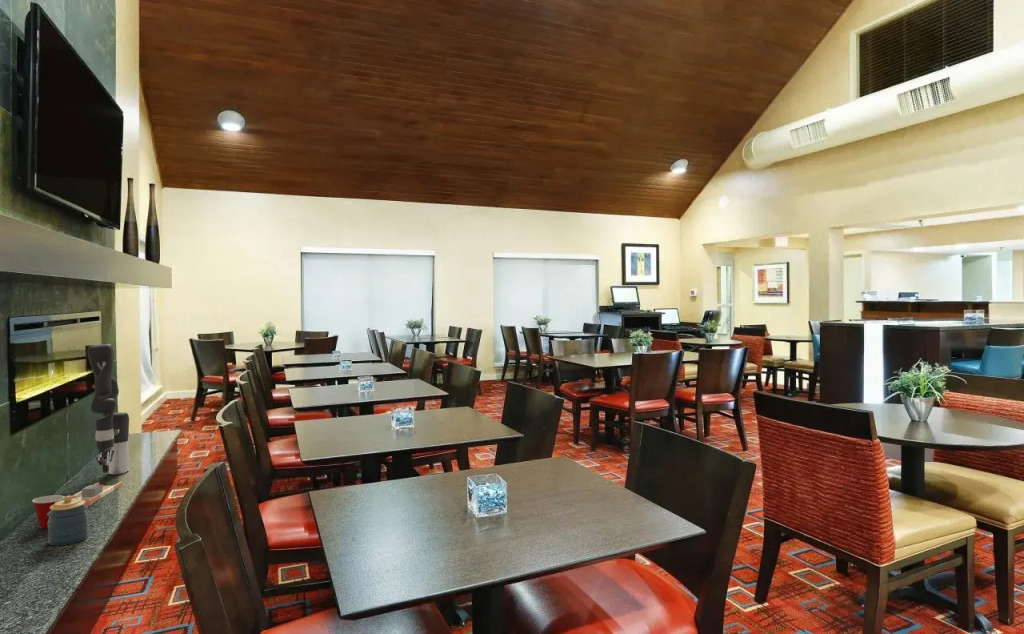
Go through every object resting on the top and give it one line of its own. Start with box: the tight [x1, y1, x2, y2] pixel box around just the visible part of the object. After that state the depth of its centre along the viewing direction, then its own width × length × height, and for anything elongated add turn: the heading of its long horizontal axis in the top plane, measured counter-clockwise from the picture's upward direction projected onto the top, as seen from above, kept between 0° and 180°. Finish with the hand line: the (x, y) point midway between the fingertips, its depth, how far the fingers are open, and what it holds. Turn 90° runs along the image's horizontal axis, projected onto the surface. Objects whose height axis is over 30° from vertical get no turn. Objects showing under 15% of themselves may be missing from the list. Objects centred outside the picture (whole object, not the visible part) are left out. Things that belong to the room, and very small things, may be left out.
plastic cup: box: [31, 494, 66, 529], centre depth 246 cm, size 11×11×12 cm
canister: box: [47, 495, 90, 546], centre depth 232 cm, size 13×13×18 cm
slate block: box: [81, 484, 104, 497], centre depth 283 cm, size 6×6×4 cm
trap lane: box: [70, 481, 124, 507], centre depth 284 cm, size 29×12×2 cm, turn 8°
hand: (105, 472), depth 294 cm, fingers closed
